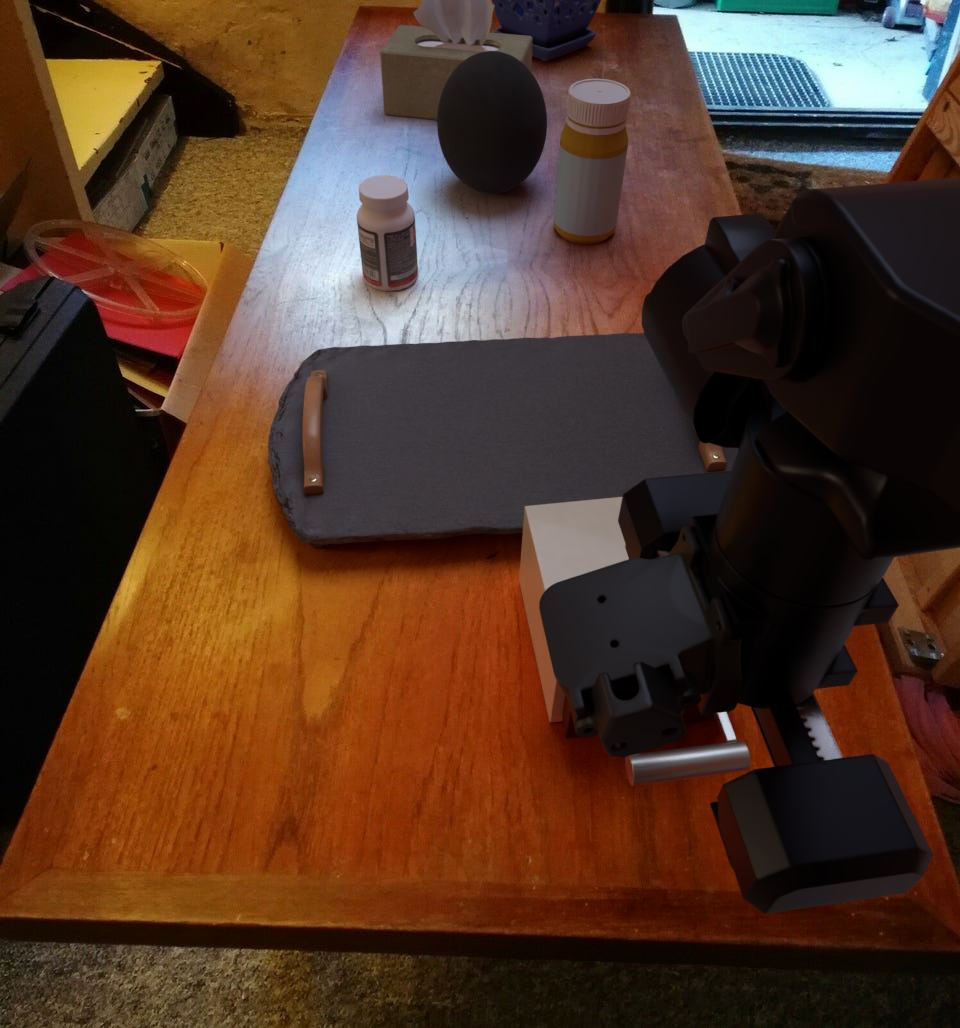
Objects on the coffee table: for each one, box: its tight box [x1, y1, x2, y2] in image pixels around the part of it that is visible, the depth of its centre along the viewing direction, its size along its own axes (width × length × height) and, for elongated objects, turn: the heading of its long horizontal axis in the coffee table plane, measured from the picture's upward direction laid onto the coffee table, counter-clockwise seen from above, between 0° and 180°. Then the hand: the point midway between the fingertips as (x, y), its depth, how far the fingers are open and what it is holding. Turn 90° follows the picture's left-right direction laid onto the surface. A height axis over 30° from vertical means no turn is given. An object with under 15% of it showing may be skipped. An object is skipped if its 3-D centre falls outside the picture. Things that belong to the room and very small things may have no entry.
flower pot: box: [491, 0, 602, 62], centre depth 128 cm, size 13×13×12 cm
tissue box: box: [379, 0, 533, 121], centre depth 111 cm, size 19×10×16 cm, turn 79°
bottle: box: [553, 78, 632, 245], centre depth 90 cm, size 7×7×15 cm
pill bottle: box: [356, 174, 419, 292], centre depth 85 cm, size 6×6×10 cm
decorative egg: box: [436, 51, 548, 194], centre depth 96 cm, size 12×12×15 cm
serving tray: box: [267, 332, 739, 550], centre depth 70 cm, size 39×23×6 cm, turn 95°
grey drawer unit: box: [518, 497, 629, 723], centre depth 56 cm, size 12×12×8 cm
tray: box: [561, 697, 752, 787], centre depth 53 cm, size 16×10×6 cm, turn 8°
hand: (705, 753), depth 41 cm, fingers open, 9 cm apart
